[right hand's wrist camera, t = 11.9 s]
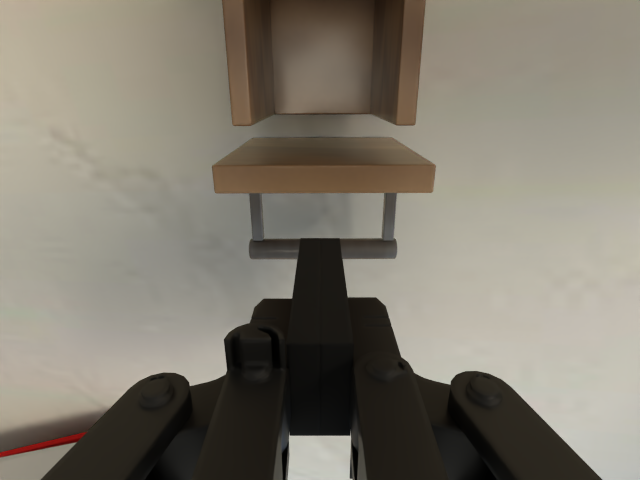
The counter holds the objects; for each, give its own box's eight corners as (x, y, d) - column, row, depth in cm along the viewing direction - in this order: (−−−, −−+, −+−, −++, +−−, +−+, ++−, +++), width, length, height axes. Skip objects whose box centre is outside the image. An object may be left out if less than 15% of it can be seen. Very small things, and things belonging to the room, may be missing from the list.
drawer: (387, 229, 27) (421, 301, 18) (257, 229, 27) (225, 301, 18) (412, -162, 20) (495, -393, 10) (232, -161, 20) (152, -392, 10)
